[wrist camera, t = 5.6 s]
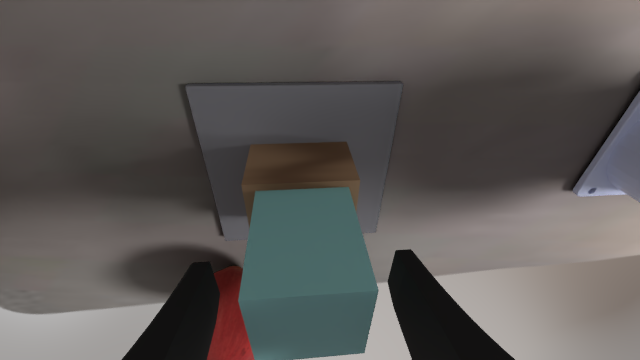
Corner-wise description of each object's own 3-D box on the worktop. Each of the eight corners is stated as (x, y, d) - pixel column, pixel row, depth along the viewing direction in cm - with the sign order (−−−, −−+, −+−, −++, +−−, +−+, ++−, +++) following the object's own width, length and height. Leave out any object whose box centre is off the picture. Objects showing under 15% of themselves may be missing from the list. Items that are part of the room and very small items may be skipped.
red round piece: (280, 287, 23) (276, 412, 16) (207, 296, 22) (174, 425, 16) (267, 237, 19) (255, 370, 13) (181, 247, 19) (125, 387, 12)
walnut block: (346, 141, 15) (360, 180, 12) (341, 212, 18) (351, 256, 15) (250, 144, 14) (241, 185, 12) (261, 216, 17) (255, 262, 15)
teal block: (343, 248, 15) (364, 352, 11) (264, 253, 14) (255, 362, 10) (349, 186, 12) (378, 290, 8) (255, 191, 12) (238, 301, 8)
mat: (400, 81, 14) (403, 83, 13) (374, 228, 20) (375, 232, 19) (187, 83, 13) (184, 86, 13) (226, 236, 19) (225, 240, 18)
